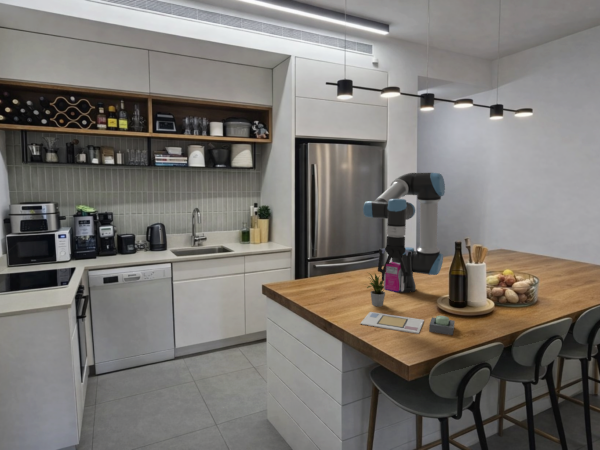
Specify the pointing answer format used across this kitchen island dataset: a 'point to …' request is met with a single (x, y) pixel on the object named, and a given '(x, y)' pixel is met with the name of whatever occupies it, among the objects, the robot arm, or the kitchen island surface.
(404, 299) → the kitchen island surface
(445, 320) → the button
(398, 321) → the picture sheet
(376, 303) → the house plant
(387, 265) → the supplement box
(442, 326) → the soap dish
